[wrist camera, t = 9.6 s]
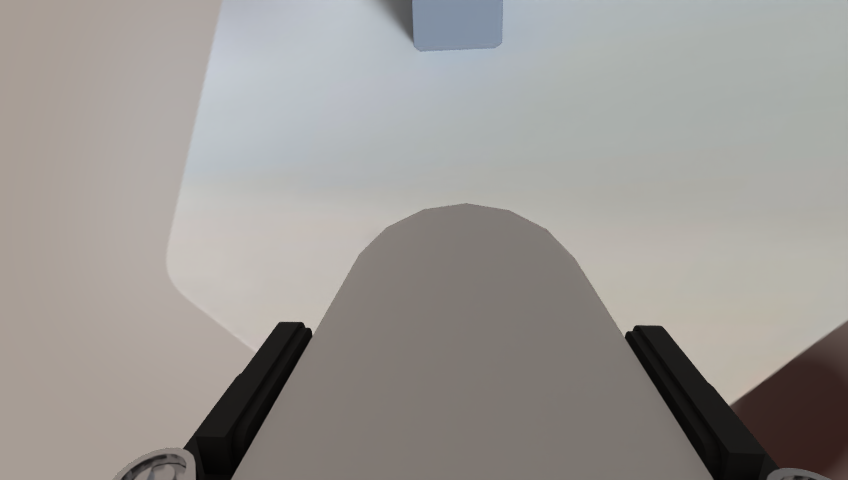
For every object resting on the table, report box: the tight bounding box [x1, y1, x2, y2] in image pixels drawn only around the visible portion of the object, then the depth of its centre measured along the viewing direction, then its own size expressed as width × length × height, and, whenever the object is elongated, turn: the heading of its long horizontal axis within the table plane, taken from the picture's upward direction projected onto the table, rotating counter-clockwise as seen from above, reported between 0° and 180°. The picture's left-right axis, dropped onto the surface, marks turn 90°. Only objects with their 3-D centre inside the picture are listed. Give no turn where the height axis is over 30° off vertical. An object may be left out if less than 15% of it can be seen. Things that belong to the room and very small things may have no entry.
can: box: [231, 203, 713, 480], centre depth 9 cm, size 8×8×12 cm
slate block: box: [412, 0, 503, 51], centre depth 28 cm, size 5×5×5 cm
